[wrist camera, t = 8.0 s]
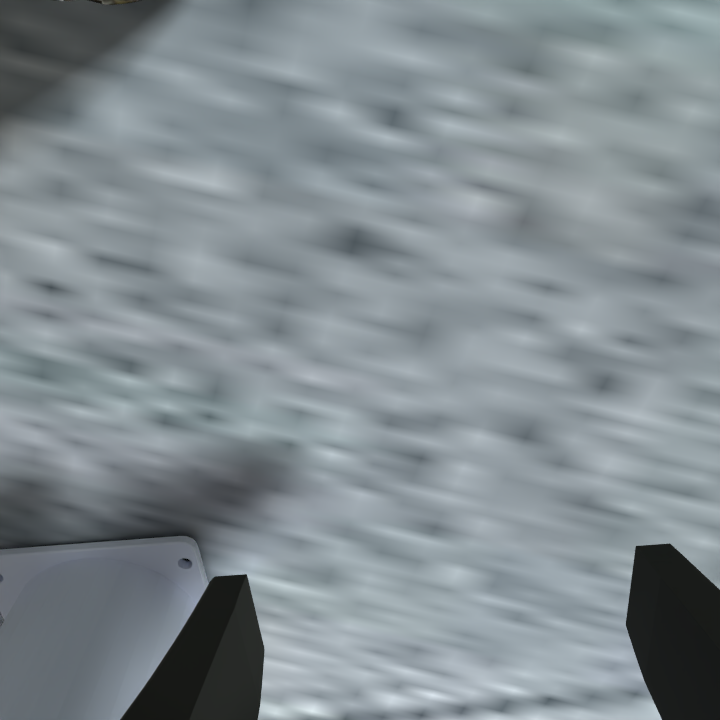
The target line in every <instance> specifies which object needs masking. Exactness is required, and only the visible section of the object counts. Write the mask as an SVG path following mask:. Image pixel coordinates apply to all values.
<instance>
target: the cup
mask: <svg viewBox="0 0 720 720" xmlns="http://www.w3.org/2000/svg"><path fill="white" fill-rule="evenodd" d="M55 1H75V0H55ZM89 1H93V2H96V3H100V4H103V5H115V4H125V3H132V2H137V1H141V0H89Z"/></svg>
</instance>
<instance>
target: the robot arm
mask: <svg viewBox="0 0 720 720" xmlns="http://www.w3.org/2000/svg"><path fill="white" fill-rule="evenodd" d="M182 558H186V559H189V560H191V561H185V560H183V559H182ZM0 574H1V575H0V613H1V615H2V617H3V619H4V622H3V624H2V625H1V627H0V720H257V719H258V714H259V708H260V699H261V688H262V676H263V662H264V645H263V641H262V637H261V633H260V628H259V624H258V620H257V616H256V612H255V607H254V603H253V599H252V595H251V590H250V586H249V582H248V578H247V574H245V575H232V576H218V577H214V578H213V579H212V580H211V581H210V583H209V584H208V580H207V576H206V573H205V569H204V565H203V562H202V558H201V555H200V551H199V547H198V545H197V543H196V541H195V540H193V539H192V538H190V537H187V536H173V537H160V538H146V539H133V540H120V541H107V542H93V543H80V544H67V545H54V546H40V547H27V548H14V549H0ZM626 627H627V630H628V633H629V636H630V639H631V642H632V646H633V649H634V652H635V655H636V658H637V661H638V664H639V666H640V669H641V672H642V675H643V678H644V681H645V683H646V685H647V687H648V690H649V692H650V694H651V696H652V699H653V701H654V703H655V705H656V707H657V709H658V712H659V714H660V716H661V718H662V720H720V590H719V589H718V588H717V587H716V586H715V585H714V584H713V583H712V582H711V581H710V580H709V579H708V578H706V577H705V576H704V575H703V574H702V573H701V572H700V571H699V570H698V569H697V568H696V567H695V566H694V565H693V564H692V563H690V562H689V561H688V560H687V559H686V558H685V557H684V556H683V555H682V554H681V553H680V552H679V551H678V550H676V549H675V548H674V547H673V546H672V545H671V544H659V545H645V546H636V550H635V558H634V565H633V573H632V581H631V588H630V596H629V604H628V612H627V619H626Z"/></svg>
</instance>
